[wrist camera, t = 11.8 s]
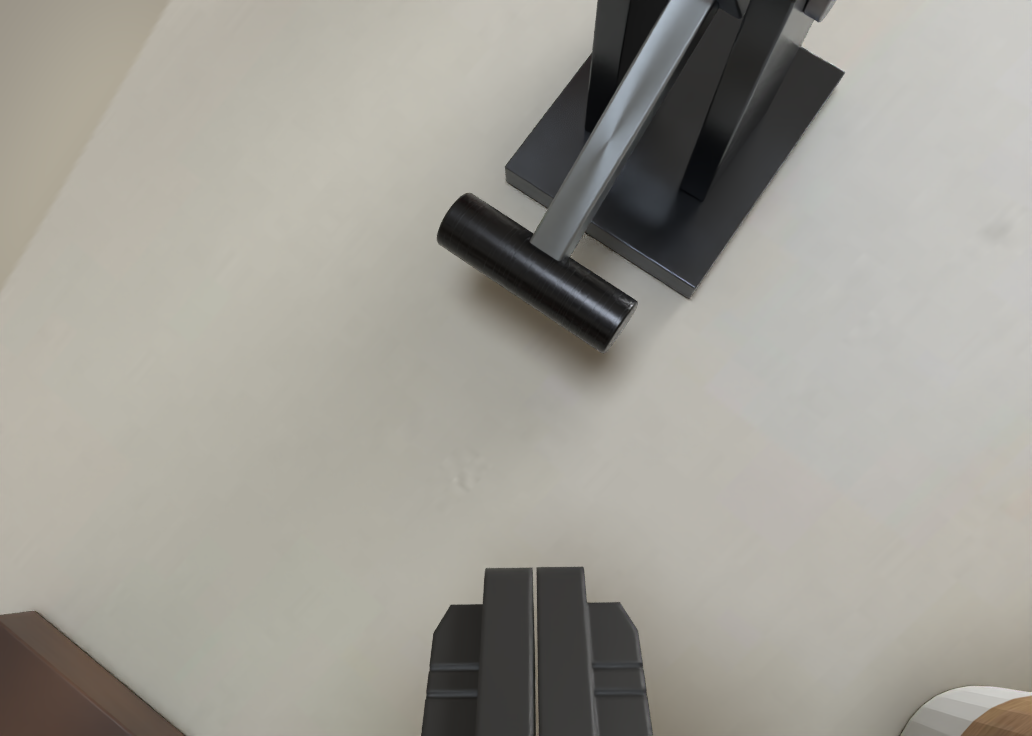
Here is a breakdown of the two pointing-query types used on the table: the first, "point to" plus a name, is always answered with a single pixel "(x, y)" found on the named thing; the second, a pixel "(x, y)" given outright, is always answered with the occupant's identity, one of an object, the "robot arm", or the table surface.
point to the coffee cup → (974, 713)
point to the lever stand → (686, 131)
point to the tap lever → (583, 193)
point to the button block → (63, 688)
